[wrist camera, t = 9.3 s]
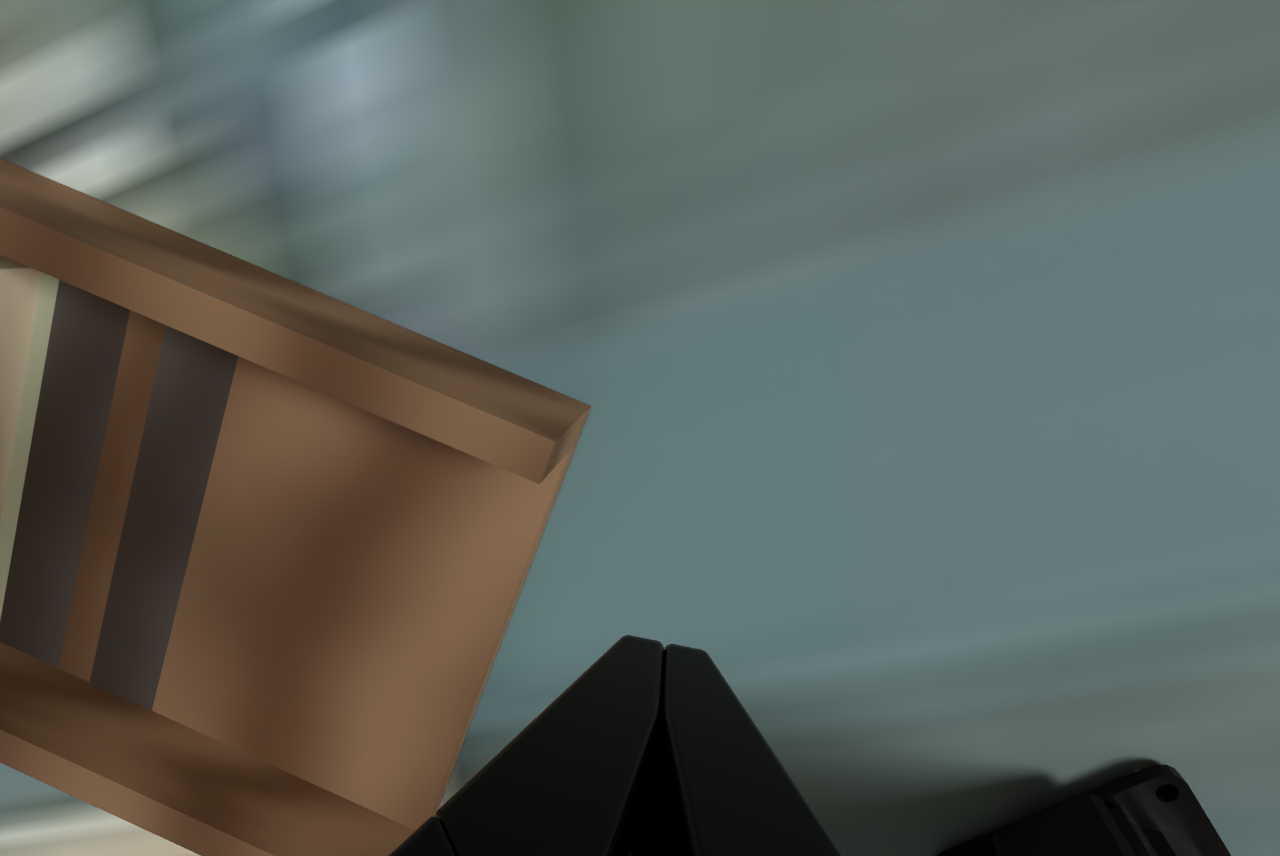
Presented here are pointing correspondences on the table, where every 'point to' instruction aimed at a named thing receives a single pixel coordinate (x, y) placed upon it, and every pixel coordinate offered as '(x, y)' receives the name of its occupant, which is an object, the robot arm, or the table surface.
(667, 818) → the robot arm
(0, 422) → the birch block
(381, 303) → the table surface
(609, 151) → the table surface
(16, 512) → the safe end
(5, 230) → the channel
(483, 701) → the table surface
